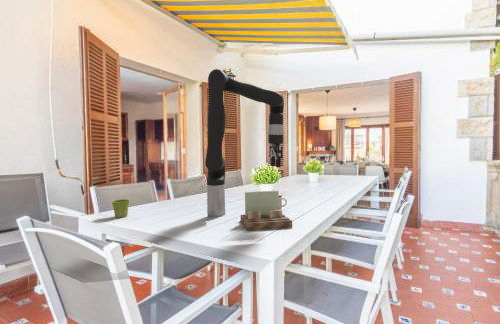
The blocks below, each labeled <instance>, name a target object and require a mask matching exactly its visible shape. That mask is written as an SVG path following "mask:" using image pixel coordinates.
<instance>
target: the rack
mask: <svg viewBox="0 0 500 324" xmlns="http://www.w3.org/2000/svg"><path fill="white" fill-rule="evenodd" d="M240 223H241V224H242V225H243V227H244V229H245V230H246V231H248V232H253V231H267V230H281V229H293V220H292V219H290V218H289V217H288V216H286V214H284V213H282V217H275V218H270V215H261V218H260V219H248V216H245V214H240Z"/></svg>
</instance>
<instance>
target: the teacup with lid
mask: <svg viewBox="0 0 500 324" xmlns="http://www.w3.org/2000/svg"><path fill="white" fill-rule="evenodd" d="M271 191H277V190H275V189H272V190H271ZM282 200H284V201H285V202H284V203H285V204H284V205H282V203H283V201H282ZM287 204H288V201H287V198H285V197H283V196H282V194H281V193H279V210H282V208H283V207H286V206H287ZM282 211H283V210H282Z"/></svg>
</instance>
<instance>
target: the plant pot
mask: <svg viewBox="0 0 500 324" xmlns="http://www.w3.org/2000/svg"><path fill="white" fill-rule="evenodd" d="M130 201H131V200H130V199H125V198H123V199H116V200H111V201H110V203H111V205H112V207H113V212H114V217H115V218H118V219H119V218H126V217H128V215H129V213H128V212H129V204H130Z"/></svg>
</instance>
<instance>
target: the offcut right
mask: <svg viewBox="0 0 500 324" xmlns="http://www.w3.org/2000/svg"><path fill="white" fill-rule="evenodd" d="M269 212H270V218H275V217H282V214H283V210H269Z"/></svg>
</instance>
